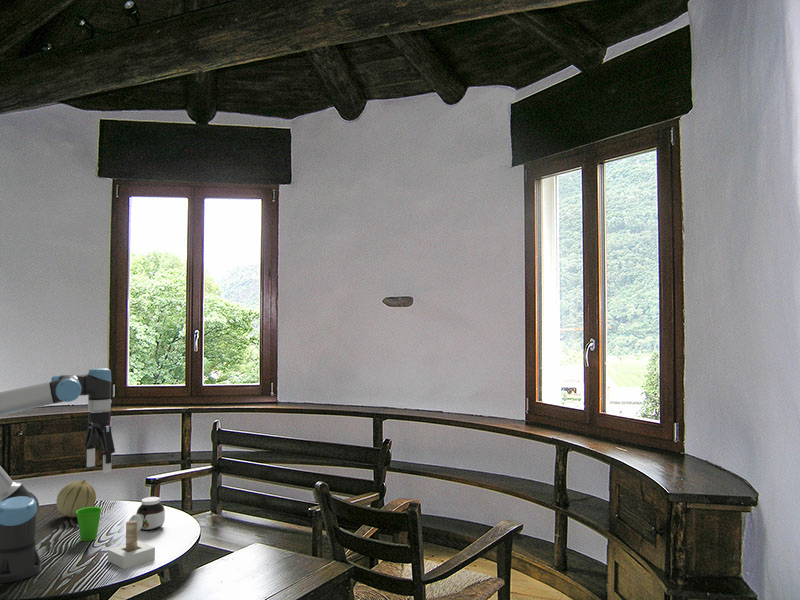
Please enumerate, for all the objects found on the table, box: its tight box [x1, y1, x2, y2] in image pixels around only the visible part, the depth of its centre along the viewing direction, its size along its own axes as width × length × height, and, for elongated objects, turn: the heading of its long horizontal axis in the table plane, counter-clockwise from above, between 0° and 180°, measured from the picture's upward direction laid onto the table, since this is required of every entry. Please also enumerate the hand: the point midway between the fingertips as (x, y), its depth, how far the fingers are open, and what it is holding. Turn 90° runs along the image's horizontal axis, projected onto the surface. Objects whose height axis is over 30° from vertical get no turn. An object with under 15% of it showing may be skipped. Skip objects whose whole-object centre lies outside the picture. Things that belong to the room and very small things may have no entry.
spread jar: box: [128, 496, 166, 534], centre depth 248 cm, size 12×11×12 cm
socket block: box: [107, 540, 156, 570], centre depth 217 cm, size 11×11×4 cm
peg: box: [125, 520, 138, 552], centre depth 218 cm, size 4×4×13 cm
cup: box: [76, 506, 103, 542], centre depth 238 cm, size 9×9×11 cm
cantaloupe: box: [56, 479, 97, 518], centre depth 266 cm, size 15×15×15 cm
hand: (98, 469), depth 230 cm, fingers open, 13 cm apart
